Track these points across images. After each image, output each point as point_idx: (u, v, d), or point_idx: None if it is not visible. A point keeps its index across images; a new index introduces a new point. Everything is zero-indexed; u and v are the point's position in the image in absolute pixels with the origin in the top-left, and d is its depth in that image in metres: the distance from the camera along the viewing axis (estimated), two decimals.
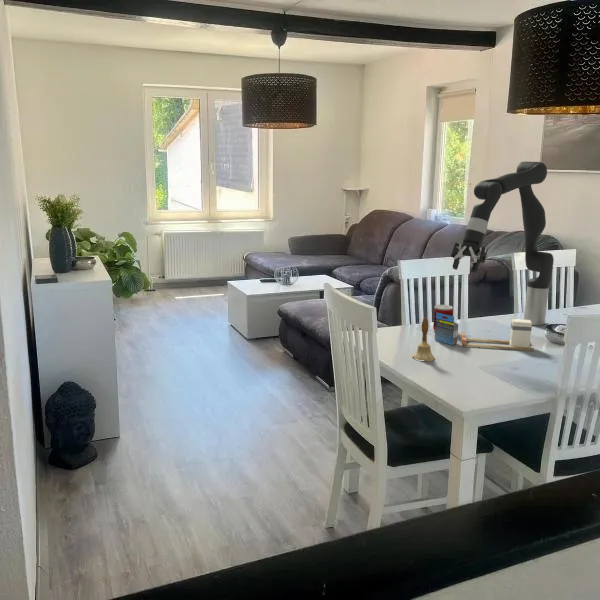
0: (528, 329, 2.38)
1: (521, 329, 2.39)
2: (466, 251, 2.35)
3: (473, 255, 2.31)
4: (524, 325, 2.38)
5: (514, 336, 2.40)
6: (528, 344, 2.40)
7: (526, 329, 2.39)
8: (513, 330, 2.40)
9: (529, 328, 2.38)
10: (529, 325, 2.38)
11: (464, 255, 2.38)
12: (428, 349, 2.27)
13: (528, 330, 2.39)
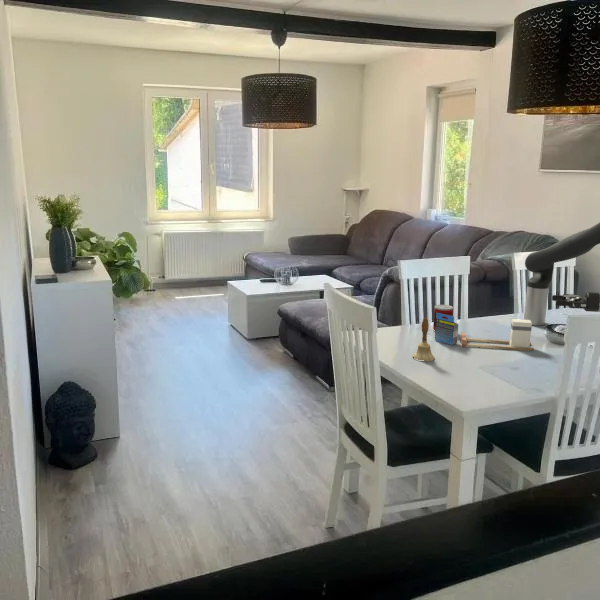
0: (528, 329, 2.38)
1: (521, 329, 2.39)
2: None
3: None
4: (524, 325, 2.38)
5: (514, 336, 2.40)
6: (528, 344, 2.40)
7: (526, 329, 2.39)
8: (513, 330, 2.40)
9: (529, 328, 2.38)
10: (529, 325, 2.38)
11: None
12: (428, 349, 2.27)
13: (528, 330, 2.39)
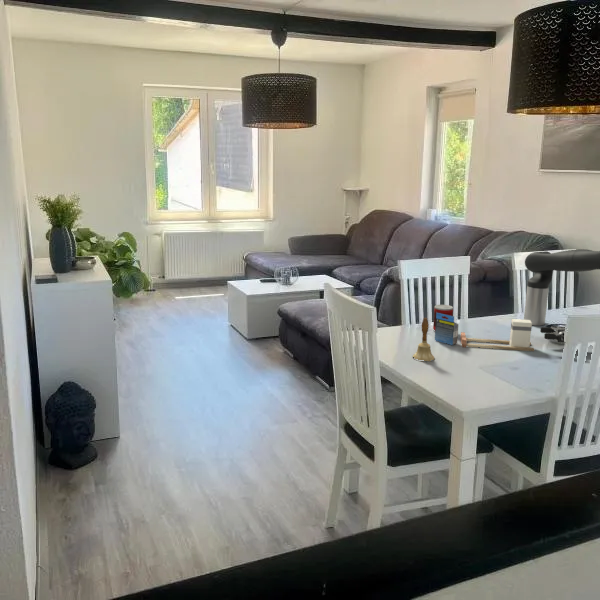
0: (528, 329, 2.38)
1: (521, 329, 2.39)
2: None
3: None
4: (524, 325, 2.38)
5: (514, 336, 2.40)
6: (528, 344, 2.40)
7: (526, 329, 2.39)
8: (513, 330, 2.40)
9: (529, 328, 2.38)
10: (529, 325, 2.38)
11: None
12: (428, 349, 2.27)
13: (528, 330, 2.39)
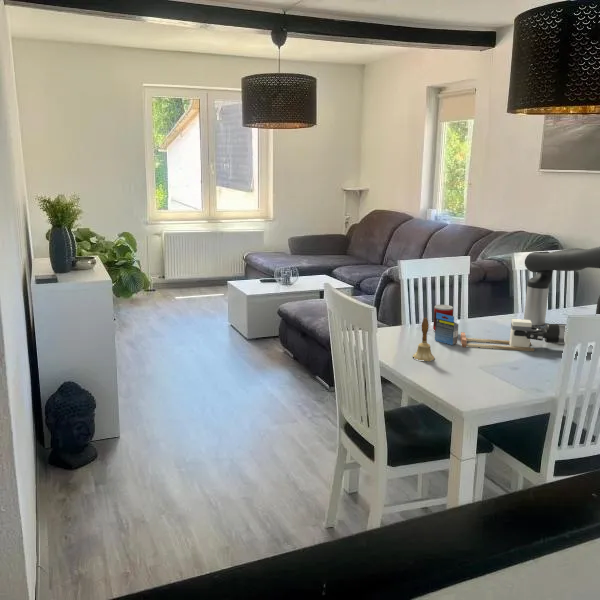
0: (528, 329, 2.38)
1: (521, 329, 2.39)
2: None
3: None
4: (524, 325, 2.38)
5: (514, 336, 2.40)
6: (528, 344, 2.40)
7: (526, 329, 2.39)
8: (513, 330, 2.40)
9: (529, 328, 2.38)
10: (529, 325, 2.38)
11: None
12: (428, 349, 2.27)
13: (528, 330, 2.39)
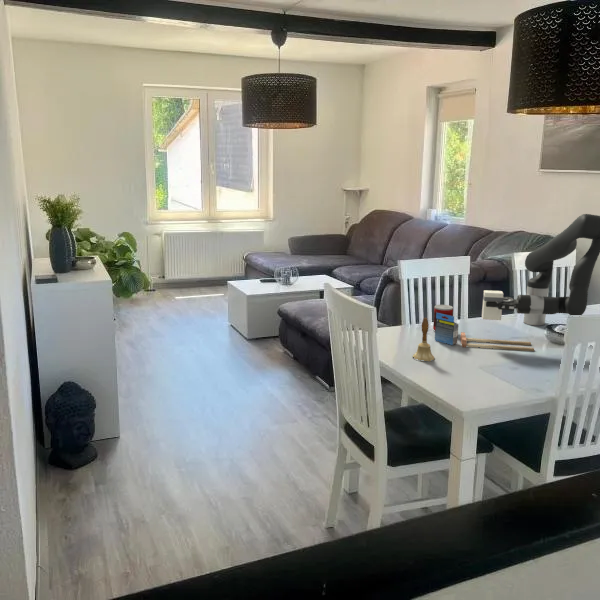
0: (500, 300, 2.38)
1: (493, 300, 2.38)
2: None
3: None
4: (496, 295, 2.38)
5: (486, 307, 2.39)
6: (500, 315, 2.39)
7: (498, 300, 2.38)
8: (485, 301, 2.39)
9: (501, 299, 2.38)
10: (501, 296, 2.37)
11: None
12: (428, 349, 2.27)
13: (500, 301, 2.38)
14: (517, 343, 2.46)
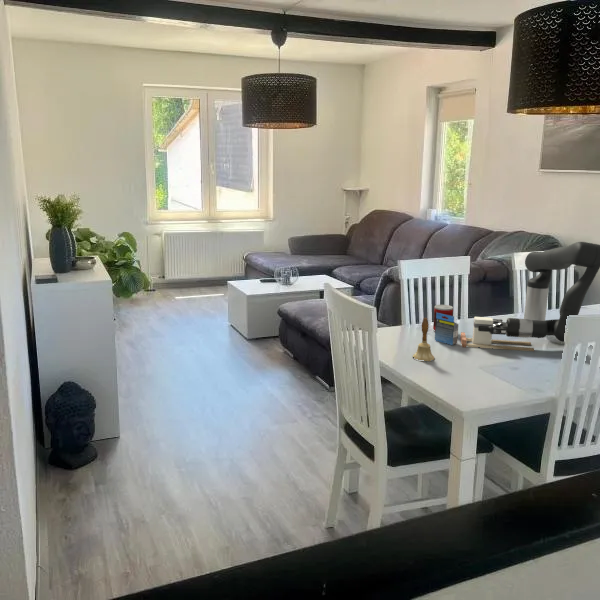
0: None
1: None
2: None
3: None
4: (486, 322, 2.41)
5: (476, 334, 2.43)
6: (490, 341, 2.43)
7: None
8: (475, 328, 2.43)
9: None
10: (490, 323, 2.41)
11: None
12: (428, 349, 2.27)
13: None
14: (517, 343, 2.46)
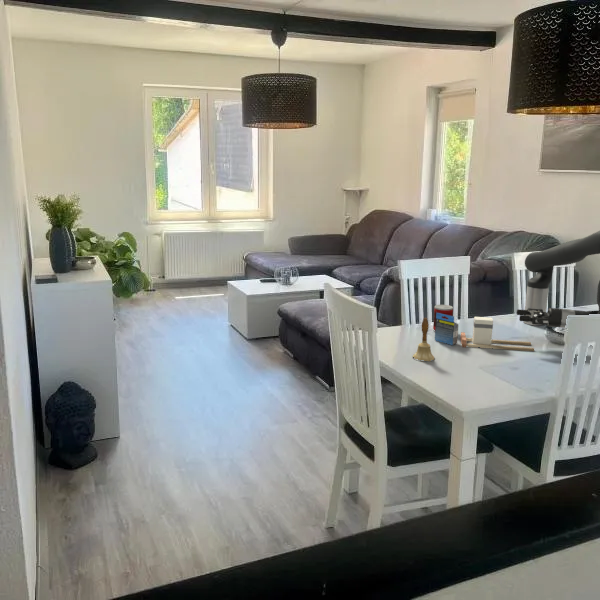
0: (489, 327, 2.41)
1: (483, 327, 2.42)
2: None
3: None
4: (486, 322, 2.41)
5: (476, 334, 2.43)
6: (490, 341, 2.43)
7: (488, 327, 2.42)
8: (475, 328, 2.43)
9: (490, 326, 2.41)
10: (490, 323, 2.41)
11: None
12: (428, 349, 2.27)
13: (489, 328, 2.41)
14: (517, 343, 2.46)
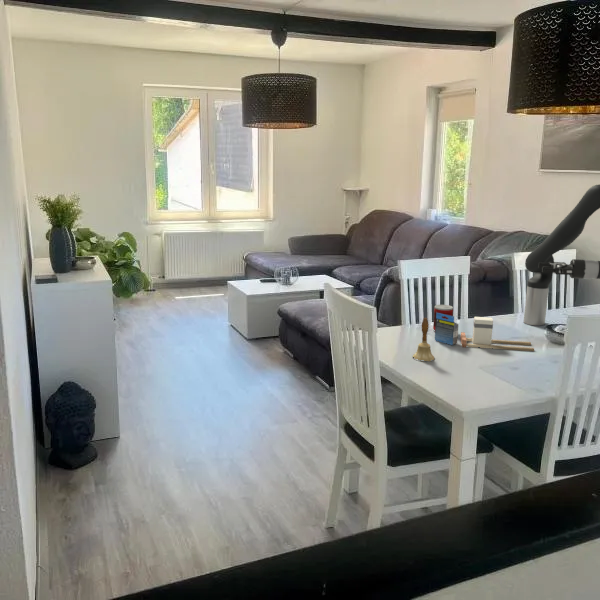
0: (489, 327, 2.41)
1: (483, 327, 2.42)
2: None
3: None
4: (486, 322, 2.41)
5: (476, 334, 2.43)
6: (490, 341, 2.43)
7: (488, 327, 2.42)
8: (475, 328, 2.43)
9: (490, 326, 2.41)
10: (490, 323, 2.41)
11: None
12: (428, 349, 2.27)
13: (489, 328, 2.41)
14: (517, 343, 2.46)
